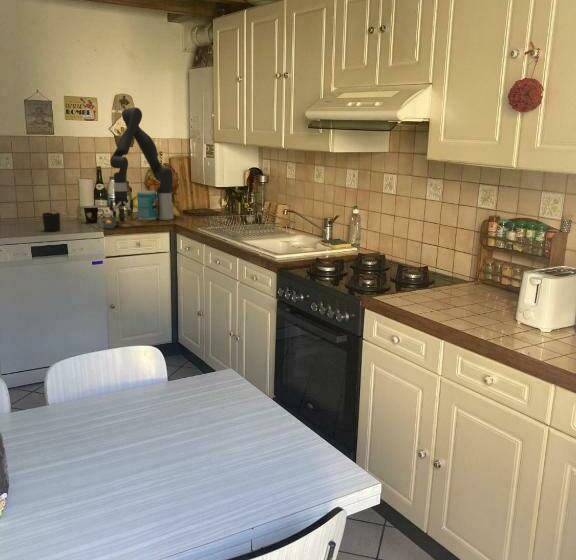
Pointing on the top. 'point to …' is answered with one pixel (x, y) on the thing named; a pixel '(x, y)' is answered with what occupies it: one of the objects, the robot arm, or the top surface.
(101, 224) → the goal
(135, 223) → the rail
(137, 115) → the robot arm
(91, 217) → the coffee mug
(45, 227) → the pen holder
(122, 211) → the striker
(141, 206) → the food can
